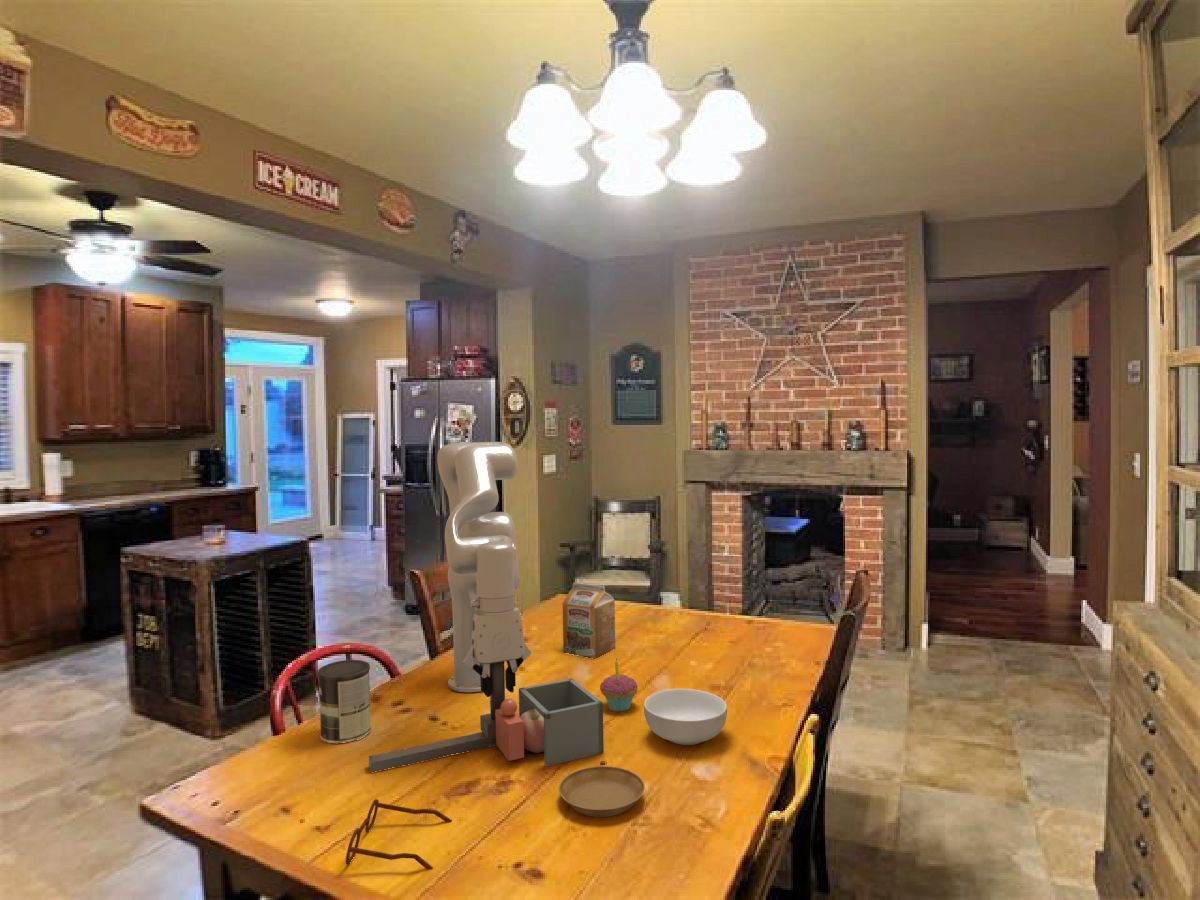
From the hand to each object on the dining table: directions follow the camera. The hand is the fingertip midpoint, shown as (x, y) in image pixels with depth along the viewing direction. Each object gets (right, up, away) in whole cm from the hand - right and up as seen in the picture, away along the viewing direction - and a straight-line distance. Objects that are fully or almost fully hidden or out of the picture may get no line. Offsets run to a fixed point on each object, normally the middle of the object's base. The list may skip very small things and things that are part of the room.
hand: (498, 691), depth 148 cm
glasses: (-10, -13, -35) cm, 38 cm away
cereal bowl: (+38, -10, +1) cm, 39 cm away
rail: (-11, -11, -5) cm, 16 cm away
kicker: (+2, -9, -3) cm, 10 cm away
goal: (+13, -10, -1) cm, 16 cm away
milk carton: (+18, -8, +57) cm, 60 cm away
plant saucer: (+21, -11, -23) cm, 33 cm away
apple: (+8, -11, -4) cm, 14 cm away
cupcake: (+25, -9, +17) cm, 32 cm away
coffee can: (-33, -11, +5) cm, 35 cm away
